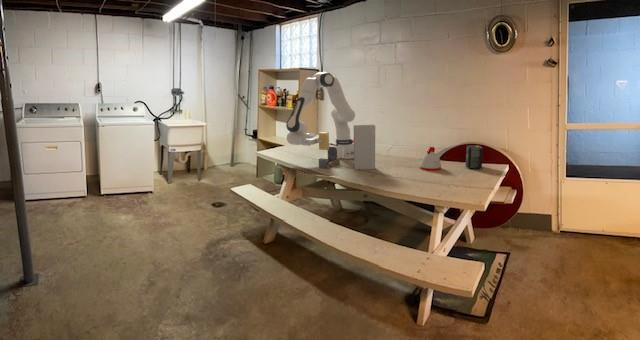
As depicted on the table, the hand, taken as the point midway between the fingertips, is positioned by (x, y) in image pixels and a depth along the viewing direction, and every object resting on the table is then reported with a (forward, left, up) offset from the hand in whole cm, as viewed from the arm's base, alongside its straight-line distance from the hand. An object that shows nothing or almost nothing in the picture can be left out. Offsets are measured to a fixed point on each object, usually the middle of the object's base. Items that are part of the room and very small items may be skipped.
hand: (325, 140), depth 296 cm
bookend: (+2, +8, -18) cm, 20 cm away
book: (+1, 0, -7) cm, 7 cm away
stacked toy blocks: (-1, +1, -19) cm, 19 cm away
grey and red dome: (-70, +22, -19) cm, 76 cm away
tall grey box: (-26, +13, -19) cm, 34 cm away
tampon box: (-99, +25, -19) cm, 104 cm away
